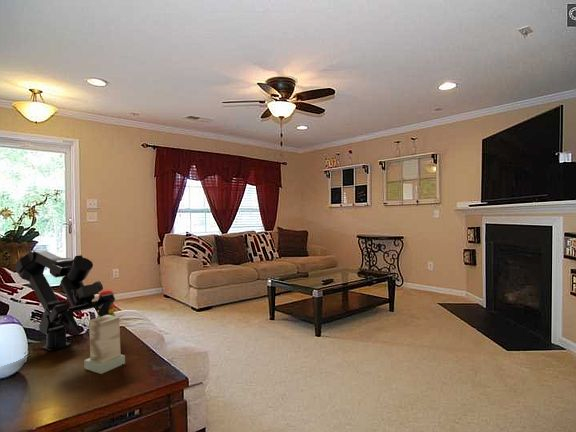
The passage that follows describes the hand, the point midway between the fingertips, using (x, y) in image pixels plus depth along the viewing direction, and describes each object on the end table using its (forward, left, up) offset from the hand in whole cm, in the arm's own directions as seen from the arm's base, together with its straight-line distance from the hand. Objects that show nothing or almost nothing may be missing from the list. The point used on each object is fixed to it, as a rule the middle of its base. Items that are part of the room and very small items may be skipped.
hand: (94, 328), depth 113 cm
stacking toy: (-14, +14, -11) cm, 22 cm away
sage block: (+6, -1, -11) cm, 12 cm away
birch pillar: (+6, 0, -8) cm, 10 cm away
